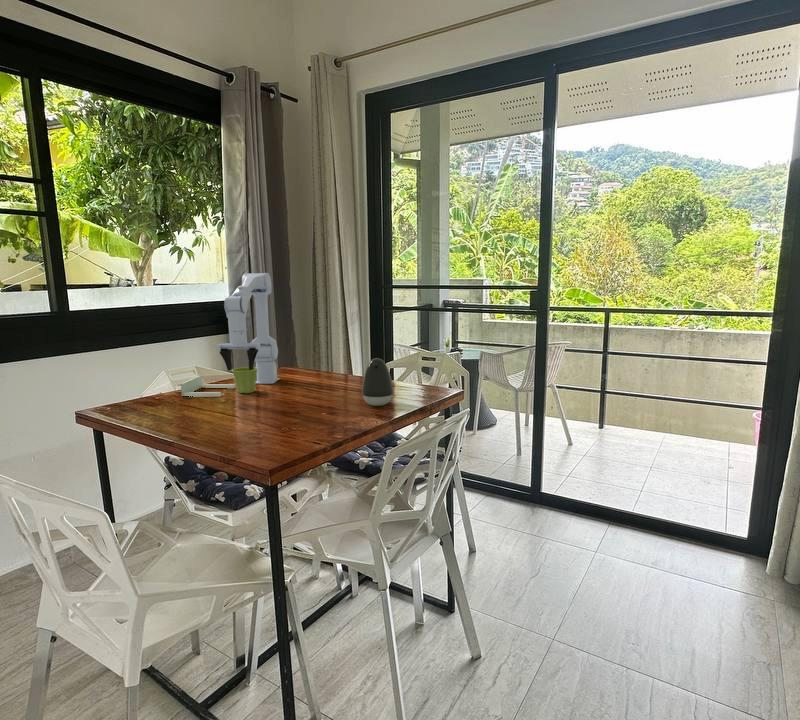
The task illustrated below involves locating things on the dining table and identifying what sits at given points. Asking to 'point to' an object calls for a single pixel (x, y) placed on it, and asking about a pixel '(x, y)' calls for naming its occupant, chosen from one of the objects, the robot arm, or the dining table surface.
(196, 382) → the display bay
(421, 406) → the dining table surface
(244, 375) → the plant pot
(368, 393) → the dark grey egg shape
